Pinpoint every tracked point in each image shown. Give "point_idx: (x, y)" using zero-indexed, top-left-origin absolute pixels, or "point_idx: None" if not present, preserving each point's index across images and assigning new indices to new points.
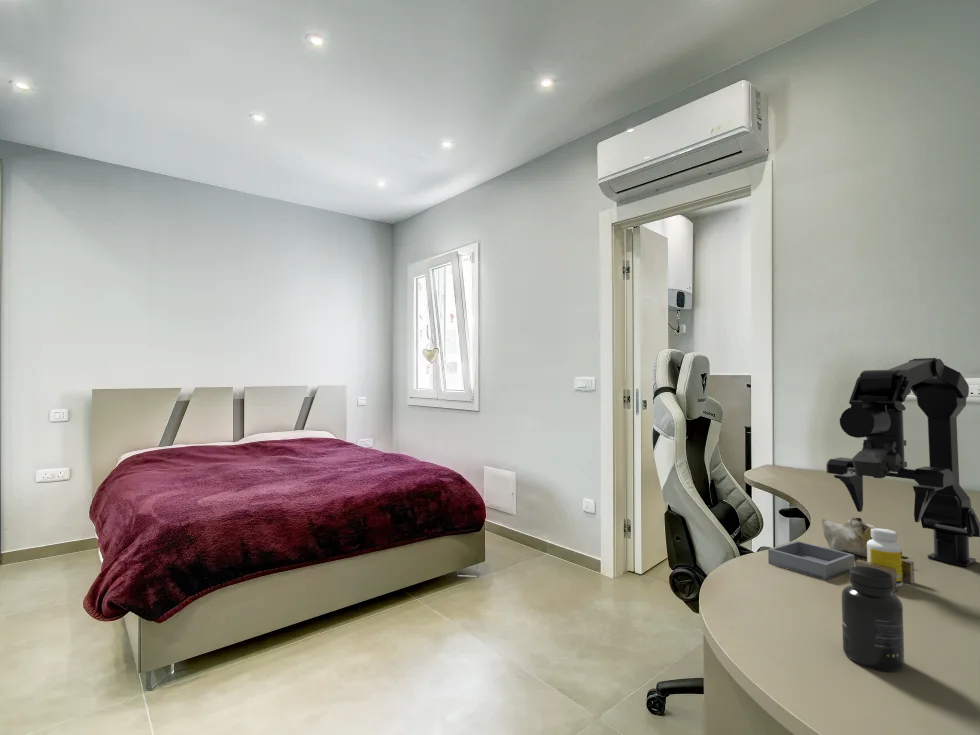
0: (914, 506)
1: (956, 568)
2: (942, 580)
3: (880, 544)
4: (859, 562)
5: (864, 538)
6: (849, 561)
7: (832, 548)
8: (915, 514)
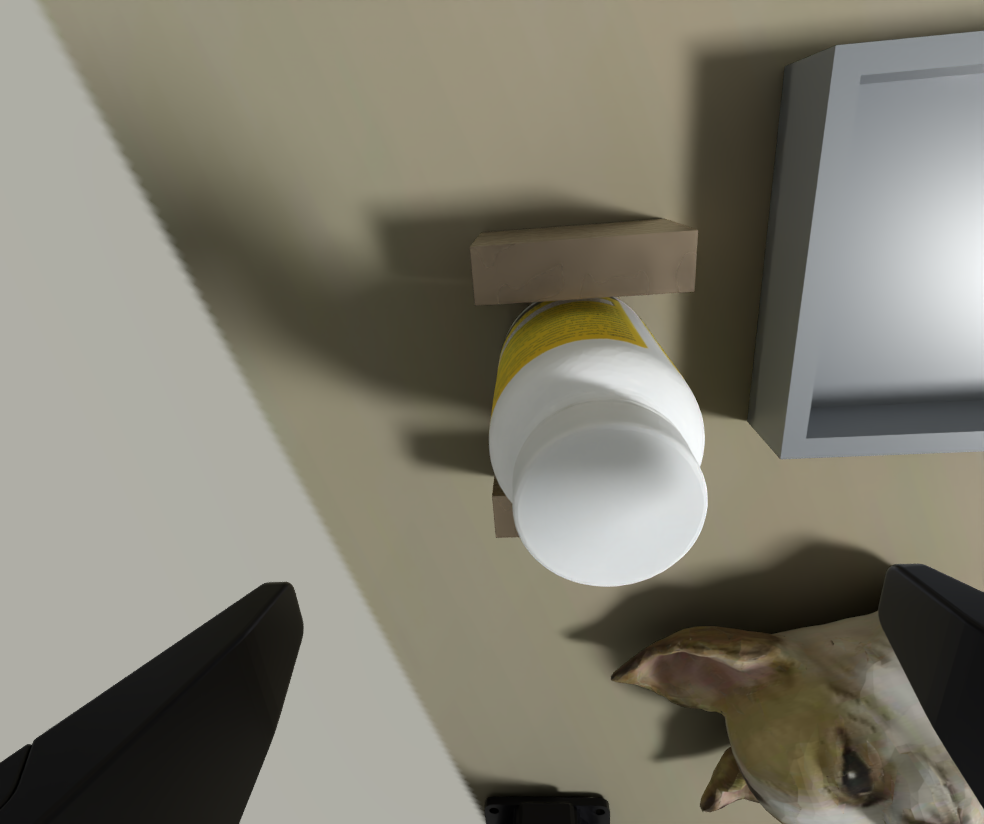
0: (152, 719)
1: (498, 763)
2: (457, 597)
3: (584, 375)
4: (668, 232)
5: (818, 695)
6: (775, 387)
7: None
8: (228, 635)
